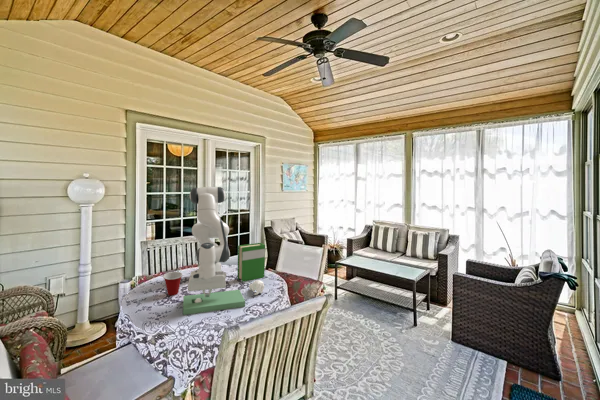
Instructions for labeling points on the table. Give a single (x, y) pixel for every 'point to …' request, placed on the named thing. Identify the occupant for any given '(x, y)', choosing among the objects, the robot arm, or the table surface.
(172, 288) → the plastic cup
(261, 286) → the white snowman figurine
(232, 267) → the table surface
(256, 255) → the hardback book
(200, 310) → the green
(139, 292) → the table surface
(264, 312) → the table surface
